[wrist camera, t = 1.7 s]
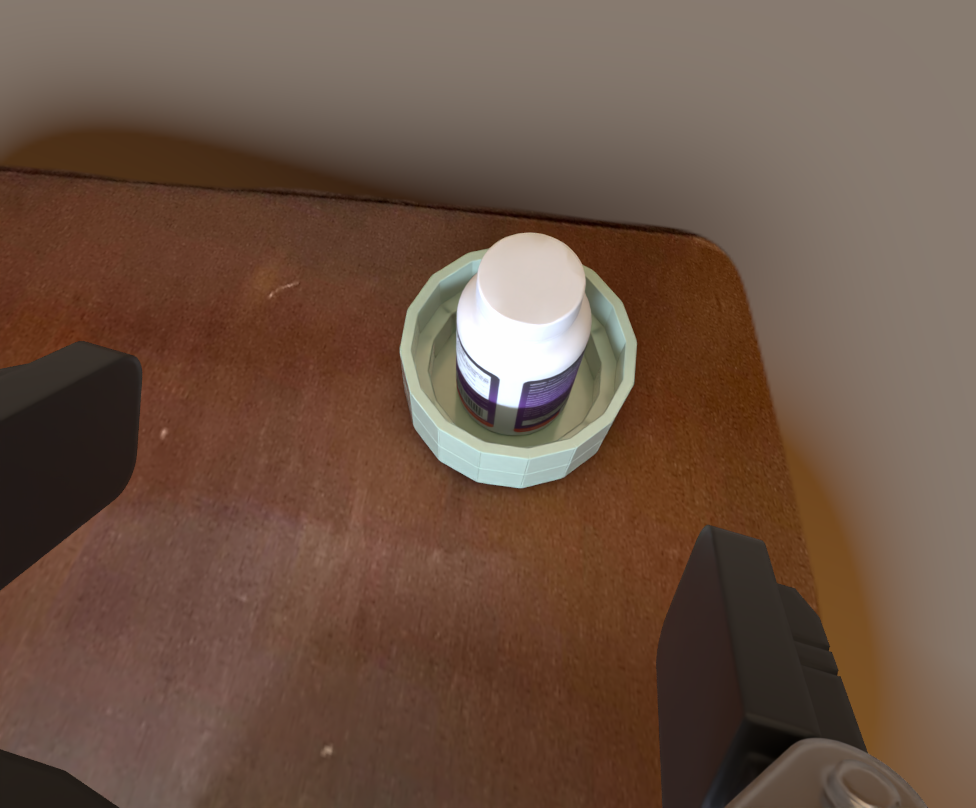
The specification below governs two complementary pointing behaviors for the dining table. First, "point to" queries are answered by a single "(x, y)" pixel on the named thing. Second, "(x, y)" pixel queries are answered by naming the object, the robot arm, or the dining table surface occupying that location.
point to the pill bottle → (521, 333)
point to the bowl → (512, 456)
